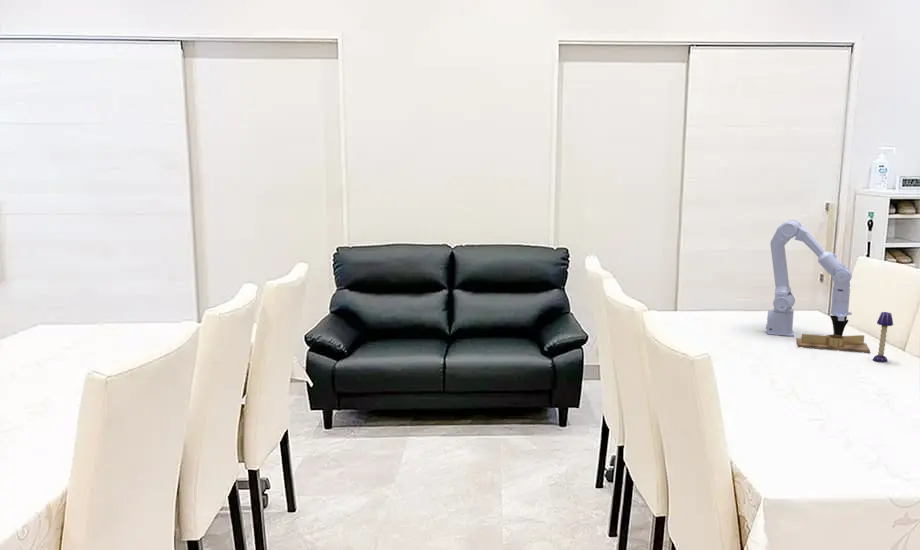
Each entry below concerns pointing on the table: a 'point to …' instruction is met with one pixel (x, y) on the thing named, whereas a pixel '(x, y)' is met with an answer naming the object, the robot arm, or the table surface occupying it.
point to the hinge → (833, 340)
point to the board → (849, 348)
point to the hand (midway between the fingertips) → (837, 335)
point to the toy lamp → (883, 334)
